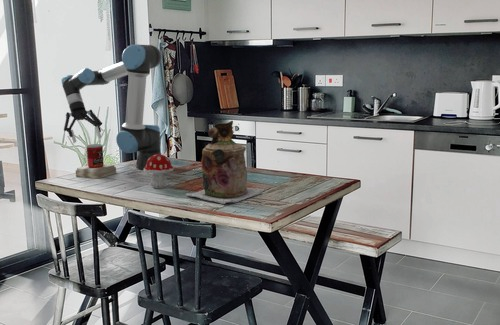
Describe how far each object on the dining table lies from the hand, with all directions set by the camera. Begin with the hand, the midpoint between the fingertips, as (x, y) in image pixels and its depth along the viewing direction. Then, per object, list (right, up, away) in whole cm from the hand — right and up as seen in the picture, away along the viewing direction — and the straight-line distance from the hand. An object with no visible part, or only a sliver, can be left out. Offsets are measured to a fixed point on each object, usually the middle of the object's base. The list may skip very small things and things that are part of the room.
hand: (87, 140), depth 279 cm
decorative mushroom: (+44, -23, -36) cm, 61 cm away
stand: (+7, -18, -8) cm, 21 cm away
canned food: (+7, -14, -9) cm, 18 cm away
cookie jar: (+75, -26, -53) cm, 95 cm away
